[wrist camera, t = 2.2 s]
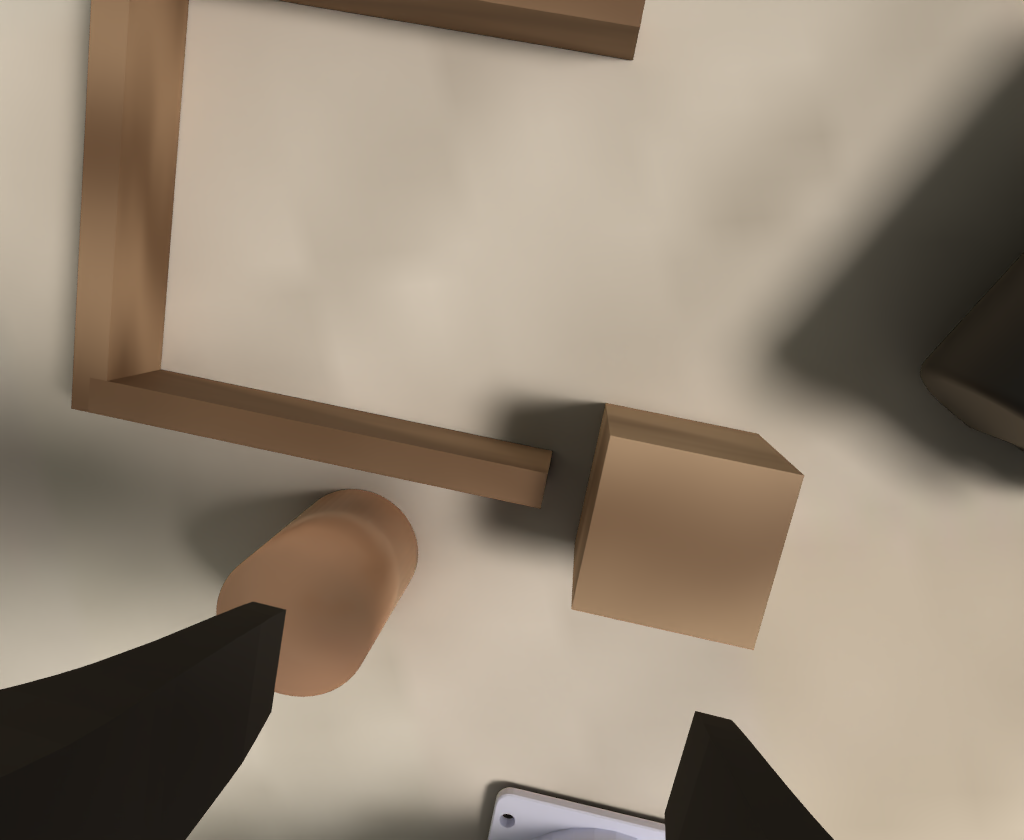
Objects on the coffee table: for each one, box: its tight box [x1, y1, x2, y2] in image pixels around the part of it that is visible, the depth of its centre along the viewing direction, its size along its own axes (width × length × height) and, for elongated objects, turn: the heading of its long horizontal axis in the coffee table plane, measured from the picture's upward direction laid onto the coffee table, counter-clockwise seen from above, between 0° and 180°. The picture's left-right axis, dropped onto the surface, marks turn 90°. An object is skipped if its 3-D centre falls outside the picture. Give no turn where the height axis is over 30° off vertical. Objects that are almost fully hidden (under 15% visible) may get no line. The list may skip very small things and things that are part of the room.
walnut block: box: [571, 403, 804, 650], centre depth 19 cm, size 4×4×4 cm
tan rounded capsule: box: [216, 489, 418, 697], centre depth 20 cm, size 4×4×5 cm
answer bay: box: [71, 0, 645, 509], centre depth 19 cm, size 13×14×2 cm
